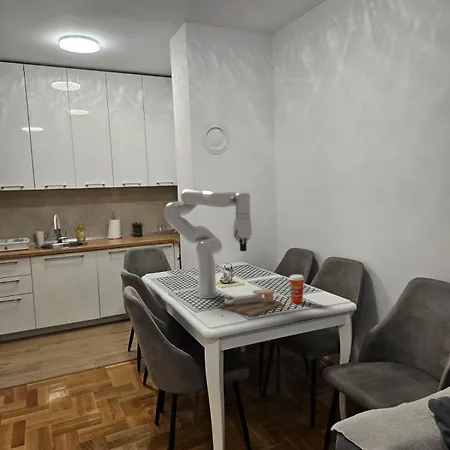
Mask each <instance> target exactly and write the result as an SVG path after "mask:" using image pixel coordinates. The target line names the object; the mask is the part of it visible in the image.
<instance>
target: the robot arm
mask: <svg viewBox="0 0 450 450" xmlns="http://www.w3.org/2000/svg"><path fill="white" fill-rule="evenodd" d="M180 198H181V199H180V200H179V201H172V202H171V201H170V202H169V203H167V204H166V205H165V207H164V211H163V212H164V213H163V214H164V218H165V220H166V222H167V224H169V225H170V227H172V229H174V230H175V231H176V232H177V233H178V234H179V235H180V236H181V237H182V238H183V239H184V240H185V241H186V242H187V243H189V244H190V245H195V244H196V247H195V254H196V257H197V271H198V273H197V275H198V285H196V287H195V288H194V290H195V291H197V292H196V293H195V295H196V297H197V298H198V299H214V298H217V297H218V296H220V295H219V291H217V287H216V286H217V285H216V284H217V283H216V262H215V259H214V255H217V254H220V252H221V251H222V248H223V246H222V243H221V240H220V239H219V238H218V237H217V236H216V235H215V234H213V232H211V231H210V230H209V229H208V228H207V227H205V226H202V225H197V226H196V225H195V226H194V225H193V224H191V222H189V220H187V219H186V218H184V217H183V216H186V215H188V214H190V213H191V212H192V211H193V210H194V209H195V208H196V207H197V206H205V207H206V206H208V207H212V208H213V207H215V208H228V207H229V208H230V207H235V219H234V222H233V238H234V239H235V241H236V242H238V243H239V251H240V252H247V244H248V240H250V239H251V237H252V230H253V229H252V220H251V195H250V193H249V192H233V191H232V192H214V191H210V190H208V189H199V188H186V189H184V190H183V191H182V192H181V194H180Z"/></svg>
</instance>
